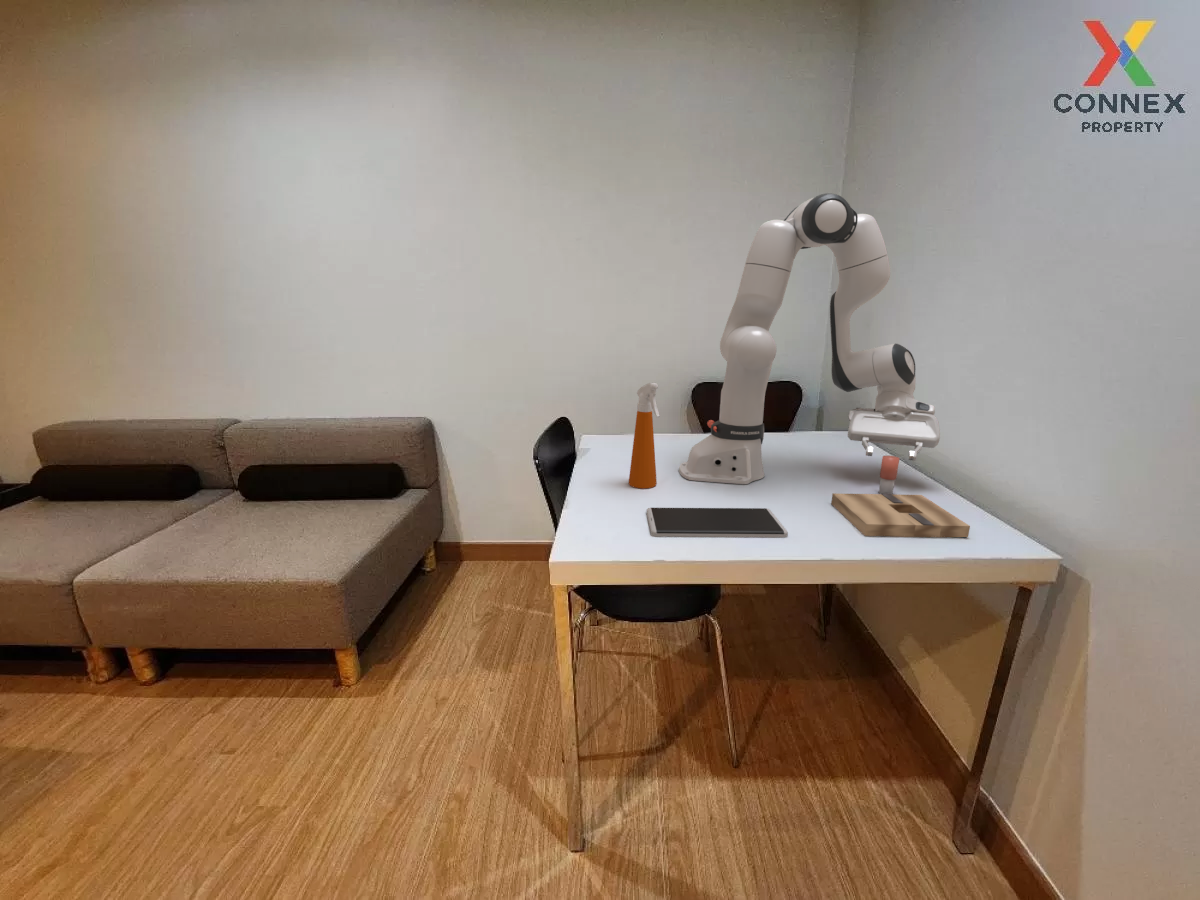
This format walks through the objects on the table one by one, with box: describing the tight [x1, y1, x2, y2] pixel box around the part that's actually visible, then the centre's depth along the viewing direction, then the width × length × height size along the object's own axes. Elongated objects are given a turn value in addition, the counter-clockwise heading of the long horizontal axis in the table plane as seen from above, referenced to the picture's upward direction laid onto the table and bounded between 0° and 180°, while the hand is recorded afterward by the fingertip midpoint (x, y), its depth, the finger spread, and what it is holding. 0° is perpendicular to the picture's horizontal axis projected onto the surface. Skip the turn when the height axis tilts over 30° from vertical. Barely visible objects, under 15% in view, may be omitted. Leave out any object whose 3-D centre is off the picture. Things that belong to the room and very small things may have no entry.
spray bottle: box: [628, 382, 660, 490], centre depth 134 cm, size 7×11×26 cm, turn 22°
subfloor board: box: [830, 492, 971, 538], centre depth 117 cm, size 20×18×3 cm
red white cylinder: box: [878, 455, 900, 494], centre depth 133 cm, size 4×4×9 cm
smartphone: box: [646, 507, 789, 539], centre depth 115 cm, size 13×27×2 cm, turn 90°
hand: (890, 457), depth 135 cm, fingers open, 8 cm apart
